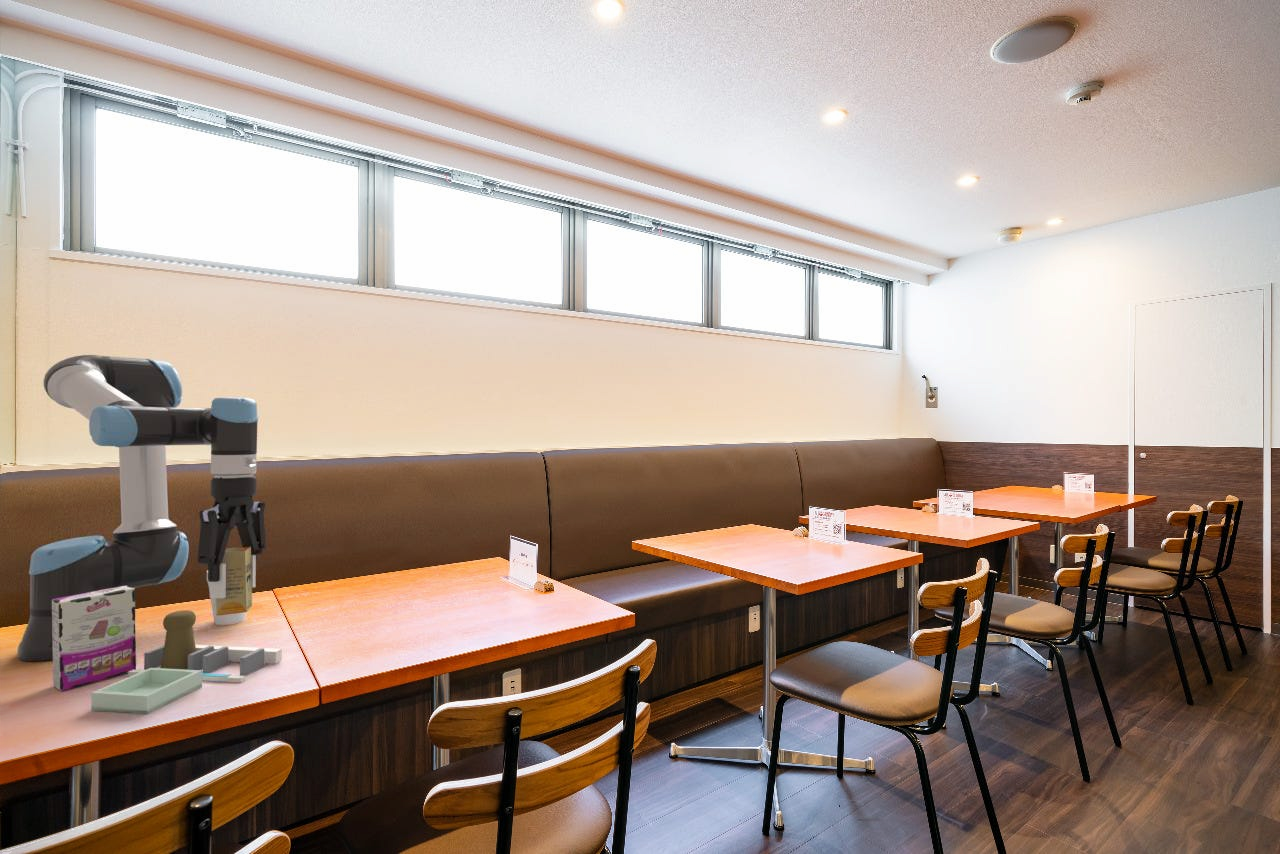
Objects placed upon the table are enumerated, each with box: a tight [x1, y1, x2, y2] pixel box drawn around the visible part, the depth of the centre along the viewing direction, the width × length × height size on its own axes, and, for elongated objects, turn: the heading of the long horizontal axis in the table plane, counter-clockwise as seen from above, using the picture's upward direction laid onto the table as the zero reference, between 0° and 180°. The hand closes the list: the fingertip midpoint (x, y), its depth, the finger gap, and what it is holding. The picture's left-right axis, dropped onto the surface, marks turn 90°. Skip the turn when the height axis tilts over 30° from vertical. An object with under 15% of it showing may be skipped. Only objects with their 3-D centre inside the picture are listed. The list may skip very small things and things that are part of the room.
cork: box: [160, 609, 197, 670], centre depth 118 cm, size 6×6×11 cm
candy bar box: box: [52, 586, 137, 693], centre depth 113 cm, size 11×5×16 cm, turn 148°
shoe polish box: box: [215, 546, 253, 616], centre depth 117 cm, size 5×5×12 cm
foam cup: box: [206, 570, 248, 626], centre depth 147 cm, size 10×9×13 cm
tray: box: [90, 667, 203, 715], centre depth 105 cm, size 11×11×3 cm
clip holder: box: [127, 644, 283, 683], centre depth 118 cm, size 24×10×4 cm, turn 83°
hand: (233, 591), depth 117 cm, fingers closed on shoe polish box, 7 cm apart
